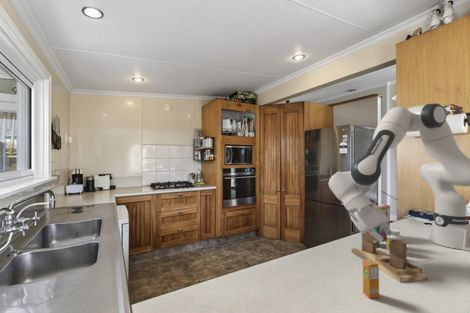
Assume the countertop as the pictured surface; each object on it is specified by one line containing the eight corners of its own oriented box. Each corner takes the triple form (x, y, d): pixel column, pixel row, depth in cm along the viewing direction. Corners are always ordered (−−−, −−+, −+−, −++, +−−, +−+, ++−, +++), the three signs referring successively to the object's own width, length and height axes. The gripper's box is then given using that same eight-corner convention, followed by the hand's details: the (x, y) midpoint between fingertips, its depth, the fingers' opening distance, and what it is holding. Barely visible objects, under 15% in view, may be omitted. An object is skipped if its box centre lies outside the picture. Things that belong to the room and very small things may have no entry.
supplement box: (361, 292, 70) (361, 259, 70) (372, 291, 71) (372, 259, 71) (368, 299, 67) (369, 264, 67) (379, 298, 67) (380, 264, 67)
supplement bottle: (400, 251, 101) (401, 229, 101) (402, 256, 96) (402, 233, 96) (386, 249, 104) (386, 227, 104) (387, 253, 99) (387, 230, 99)
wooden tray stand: (374, 250, 102) (374, 226, 102) (428, 279, 78) (428, 248, 78) (351, 252, 100) (351, 227, 100) (399, 282, 76) (400, 250, 76)
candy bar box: (378, 241, 113) (379, 207, 113) (368, 238, 118) (368, 205, 118) (390, 237, 119) (390, 205, 119) (380, 234, 124) (380, 203, 123)
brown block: (390, 262, 87) (391, 238, 87) (406, 267, 83) (406, 242, 83) (386, 265, 85) (387, 240, 85) (402, 270, 81) (402, 244, 81)
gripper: (353, 205, 86) (382, 239, 78) (375, 199, 99) (402, 228, 91) (341, 215, 89) (368, 248, 82) (364, 207, 102) (389, 236, 94)
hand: (386, 237), depth 86 cm, fingers open, 8 cm apart
